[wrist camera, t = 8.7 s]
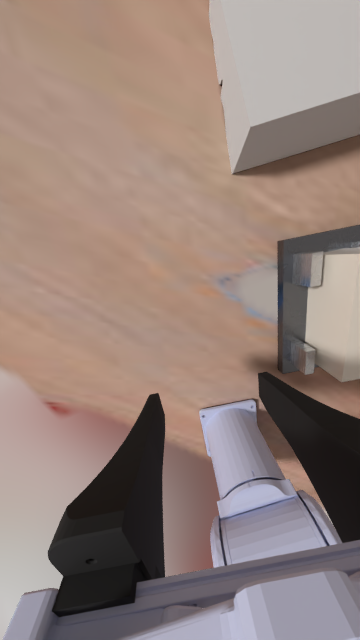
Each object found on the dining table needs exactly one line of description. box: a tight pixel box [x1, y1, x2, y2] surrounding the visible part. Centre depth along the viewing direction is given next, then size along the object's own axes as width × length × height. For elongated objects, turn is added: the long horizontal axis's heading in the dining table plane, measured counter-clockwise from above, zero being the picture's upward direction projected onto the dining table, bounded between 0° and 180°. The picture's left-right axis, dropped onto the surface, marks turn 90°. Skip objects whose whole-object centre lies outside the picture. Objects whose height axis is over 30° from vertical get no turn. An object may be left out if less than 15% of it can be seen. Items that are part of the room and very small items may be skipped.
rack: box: [278, 225, 360, 375], centre depth 19 cm, size 16×9×4 cm, turn 11°
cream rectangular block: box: [305, 247, 360, 382], centre depth 18 cm, size 12×4×5 cm, turn 11°
